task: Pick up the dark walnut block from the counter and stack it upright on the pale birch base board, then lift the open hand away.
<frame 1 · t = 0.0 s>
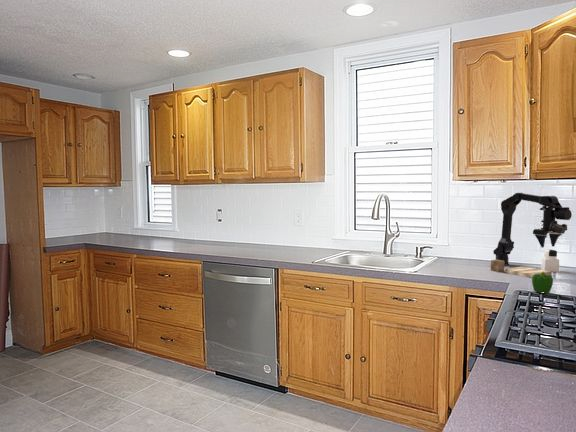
hand: (547, 246, 238), 15 cm above the counter, fingers open, 9 cm apart
medicine bottle: (549, 271, 246), on the counter
bell pepper: (541, 292, 198), on the counter
walnut block: (497, 270, 246), on the counter
birch base: (527, 273, 238), on the counter
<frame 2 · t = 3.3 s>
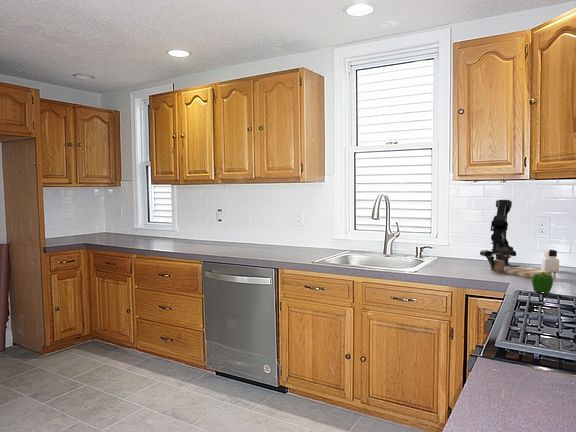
hand: (497, 268, 246), 2 cm above the counter, fingers closed on walnut block, 6 cm apart
walnut block: (497, 270, 246), on the counter, touching gripper
everything else where it was.
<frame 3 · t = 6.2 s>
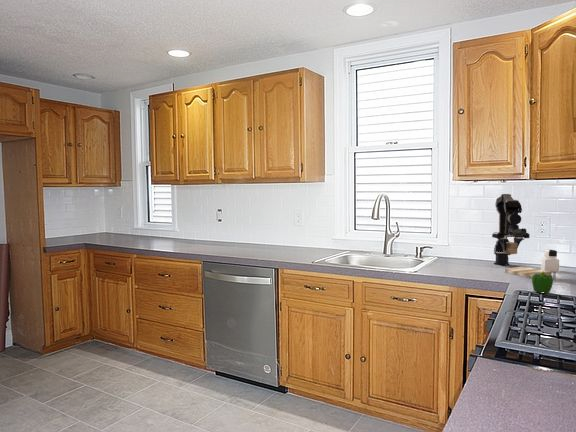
hand: (510, 250, 242), 12 cm above the counter, fingers closed on walnut block, 6 cm apart
walnut block: (510, 253, 242), point 11 cm above the counter, touching gripper
everything else where it was.
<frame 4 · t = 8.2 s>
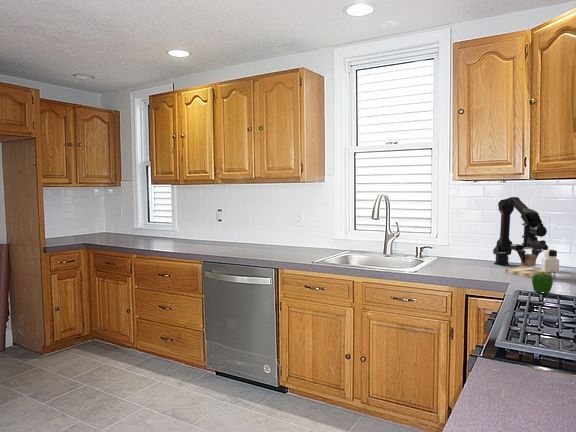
hand: (528, 262, 237), 6 cm above the counter, fingers closed on walnut block, 6 cm apart
walnut block: (528, 265, 238), point 5 cm above the counter, touching gripper
everything else where it was.
when the fingers open (4 cm above the counter, at t = 9.5 s): walnut block stays where it is, resting on birch base.
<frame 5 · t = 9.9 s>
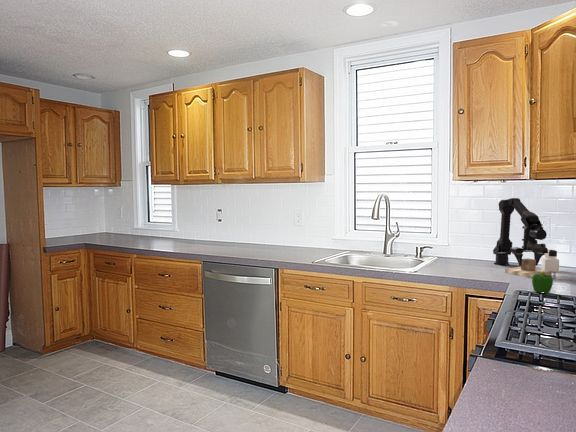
hand: (528, 265, 237), 4 cm above the counter, fingers open, 9 cm apart
walnut block: (528, 270, 238), point 2 cm above the counter, touching birch base
everything else where it was.
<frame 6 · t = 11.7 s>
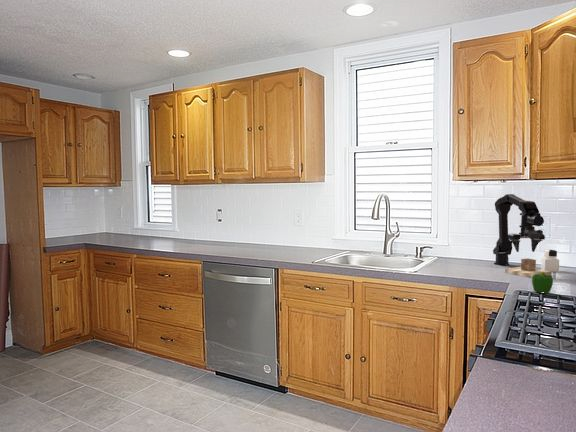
hand: (525, 251, 241), 12 cm above the counter, fingers open, 9 cm apart
nothing on the counter moved.
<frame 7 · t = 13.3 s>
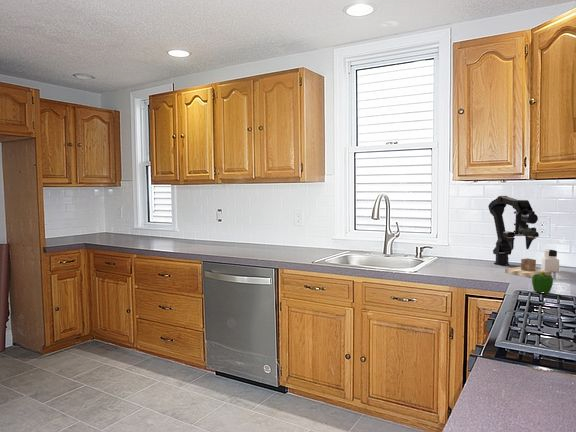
hand: (519, 249, 247), 12 cm above the counter, fingers open, 9 cm apart
nothing on the counter moved.
at the end: walnut block inside the target area on the birch base (0.1 cm from its centre), point 2.0 cm above the birch base's base; walnut block tilted 0°; the gripper is holding nothing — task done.
